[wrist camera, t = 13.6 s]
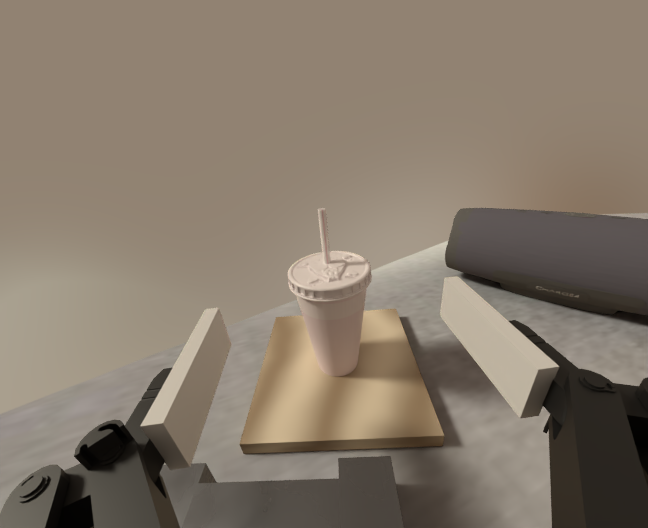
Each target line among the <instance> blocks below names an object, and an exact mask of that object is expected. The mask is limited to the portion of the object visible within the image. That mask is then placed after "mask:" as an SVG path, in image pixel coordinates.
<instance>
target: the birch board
mask: <svg viewBox="0 0 648 528" xmlns="http://www.w3.org/2000/svg"><path fill="white" fill-rule="evenodd" d="M443 440H444V433H443V431H442V428H441V426H440V423H439V420H438V418H437V415H436V412H435V410H434V407H433V405H432V402H431V399H430V397H429V394H428V392H427V389H426V386H425V384H424V381H423V379H422V376H421V373H420V371H419V368H418V366H417V363H416V360H415V358H414V355H413V352H412V350H411V347H410V345H409V342H408V339H407V337H406V334H405V332H404V329H403V326H402V324H401V321H400V319H399V316H398V313H397V311H396V309H385V310H371V311H364V313H363V322H362V330H361V339H360V348H359V356H358V364H357V366H356V368H355V369H354V370H353V371H352V372H351V373H349V374H347V375H345V376H339V377H335V376H330V375H327V374H325V373H324V372H323V371H322V370H321V369H320V367H319V365H318V362H317V359H316V356H315V353H314V349H313V346H312V343H311V340H310V337H309V334H308V331H307V328H306V325H305V322H304V318H303V315H302V316H288V317H276V320H275V323H274V327H273V330H272V334H271V337H270V341H269V344H268V347H267V351H266V354H265V358H264V361H263V365H262V368H261V372H260V375H259V379H258V382H257V386H256V389H255V393H254V396H253V400H252V403H251V407H250V410H249V413H248V417H247V420H246V424H245V427H244V431H243V434H242V438H241V441H240V446H241V449H242V451H243V453H244V454H253V453H278V452H303V451H328V450H352V449H377V448H402V447H427V446H443Z"/></svg>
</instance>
